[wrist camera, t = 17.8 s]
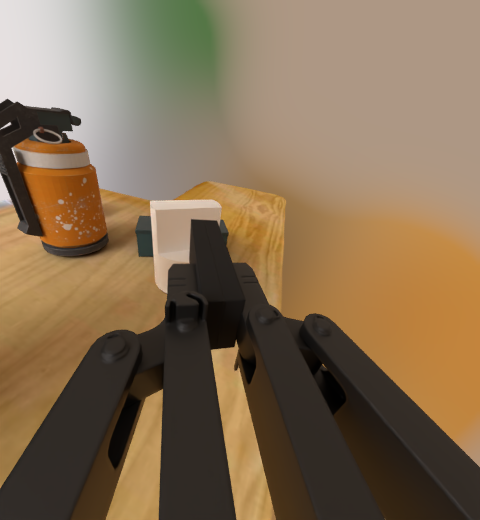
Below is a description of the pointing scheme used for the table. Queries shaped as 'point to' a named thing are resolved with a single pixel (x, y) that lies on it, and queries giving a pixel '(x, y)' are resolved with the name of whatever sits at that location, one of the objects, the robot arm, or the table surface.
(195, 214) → the cylinder with rectangular tab
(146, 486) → the table surface
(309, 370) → the robot arm
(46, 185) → the canister
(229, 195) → the table surface
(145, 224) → the pencil box
